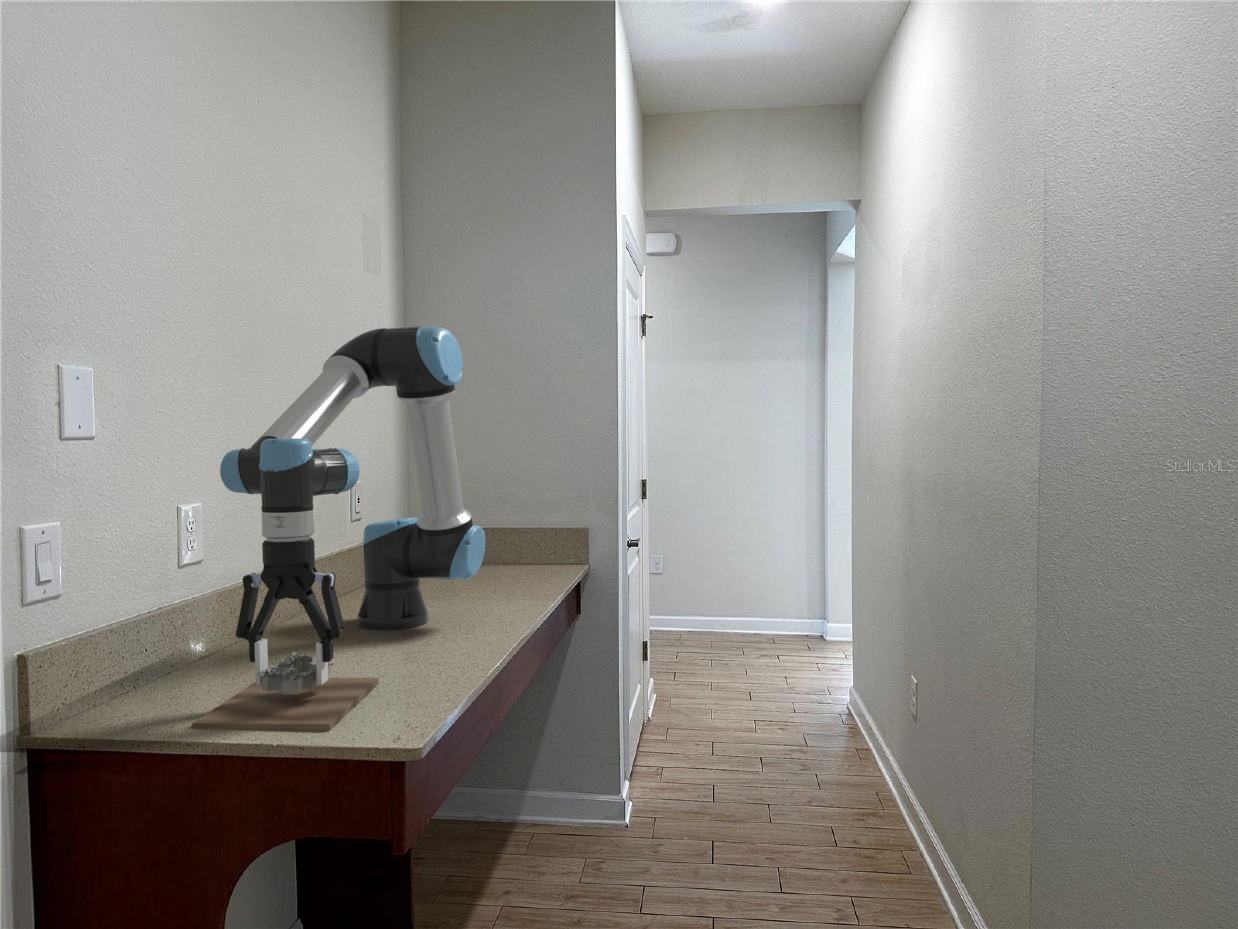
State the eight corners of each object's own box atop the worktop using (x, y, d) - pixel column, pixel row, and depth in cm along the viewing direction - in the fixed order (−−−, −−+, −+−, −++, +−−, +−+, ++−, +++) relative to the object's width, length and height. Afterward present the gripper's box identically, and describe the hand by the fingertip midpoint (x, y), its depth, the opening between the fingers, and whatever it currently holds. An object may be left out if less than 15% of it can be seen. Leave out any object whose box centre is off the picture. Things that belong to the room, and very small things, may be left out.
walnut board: (262, 684, 144) (261, 677, 144) (378, 684, 143) (378, 677, 143) (192, 731, 122) (192, 723, 122) (329, 732, 121) (329, 723, 121)
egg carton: (299, 673, 140) (301, 648, 139) (337, 681, 137) (339, 656, 137) (251, 689, 130) (253, 662, 129) (290, 698, 127) (292, 671, 127)
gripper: (207, 541, 128) (211, 689, 129) (348, 541, 127) (352, 690, 128) (231, 535, 136) (235, 675, 137) (365, 534, 135) (368, 675, 136)
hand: (292, 682), depth 132 cm, fingers closed on egg carton, 9 cm apart
